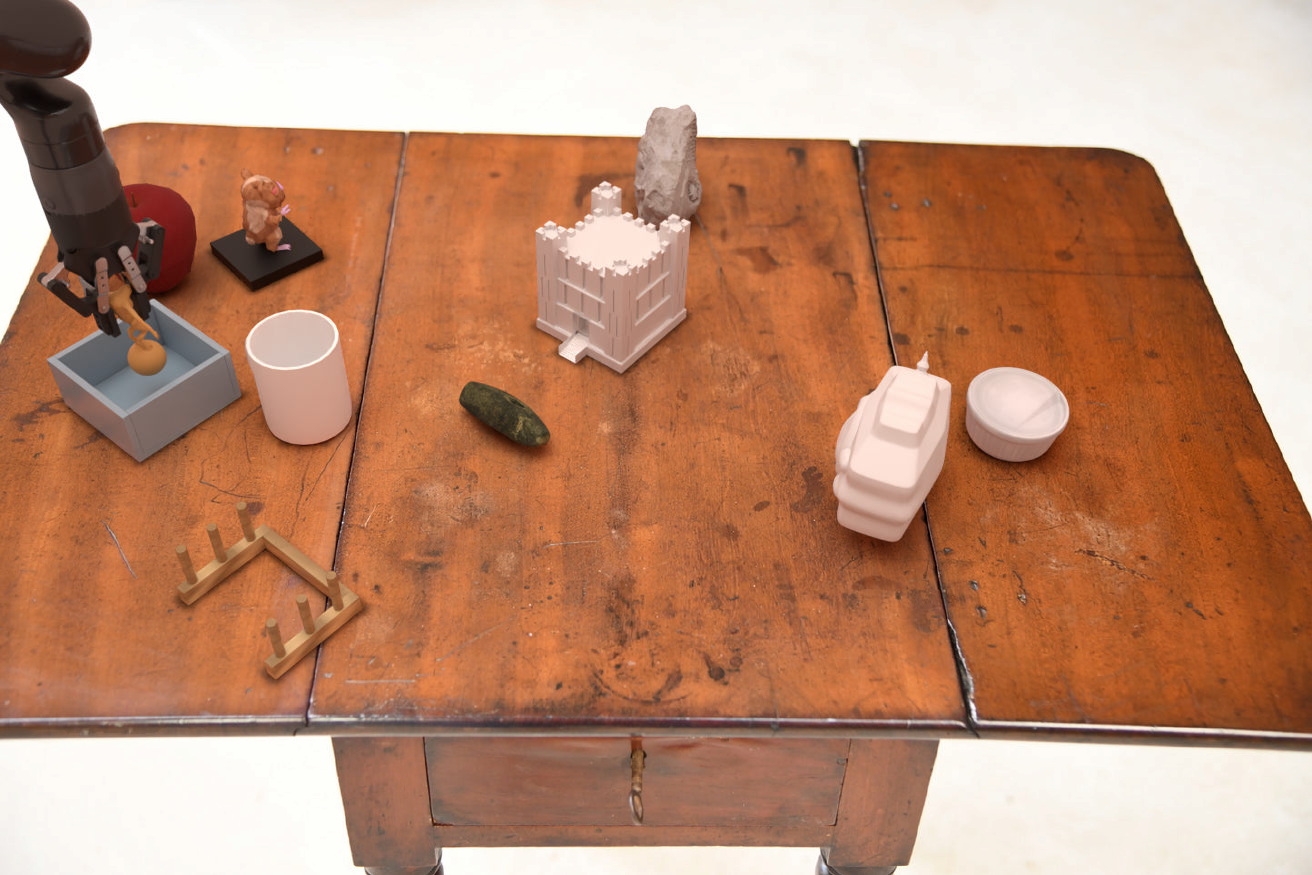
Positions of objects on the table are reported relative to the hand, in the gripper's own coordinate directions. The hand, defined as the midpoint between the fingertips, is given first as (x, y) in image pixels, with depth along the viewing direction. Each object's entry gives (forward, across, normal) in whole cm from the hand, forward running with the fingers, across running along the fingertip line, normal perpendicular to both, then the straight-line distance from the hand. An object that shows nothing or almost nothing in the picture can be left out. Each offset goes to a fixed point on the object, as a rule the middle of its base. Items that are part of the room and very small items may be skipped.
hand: (127, 324), depth 134 cm
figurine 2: (+11, -25, -11) cm, 30 cm away
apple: (+12, -13, -17) cm, 24 cm away
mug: (+12, -9, +14) cm, 20 cm away
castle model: (+11, -43, +30) cm, 54 cm away
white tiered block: (+12, -41, +70) cm, 82 cm away
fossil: (+11, -66, +21) cm, 70 cm away
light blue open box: (+11, 0, 0) cm, 11 cm away
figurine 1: (+7, +1, 0) cm, 7 cm away
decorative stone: (+12, -22, +33) cm, 41 cm away
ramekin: (+11, -59, +76) cm, 97 cm away
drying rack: (+11, +10, +32) cm, 35 cm away
